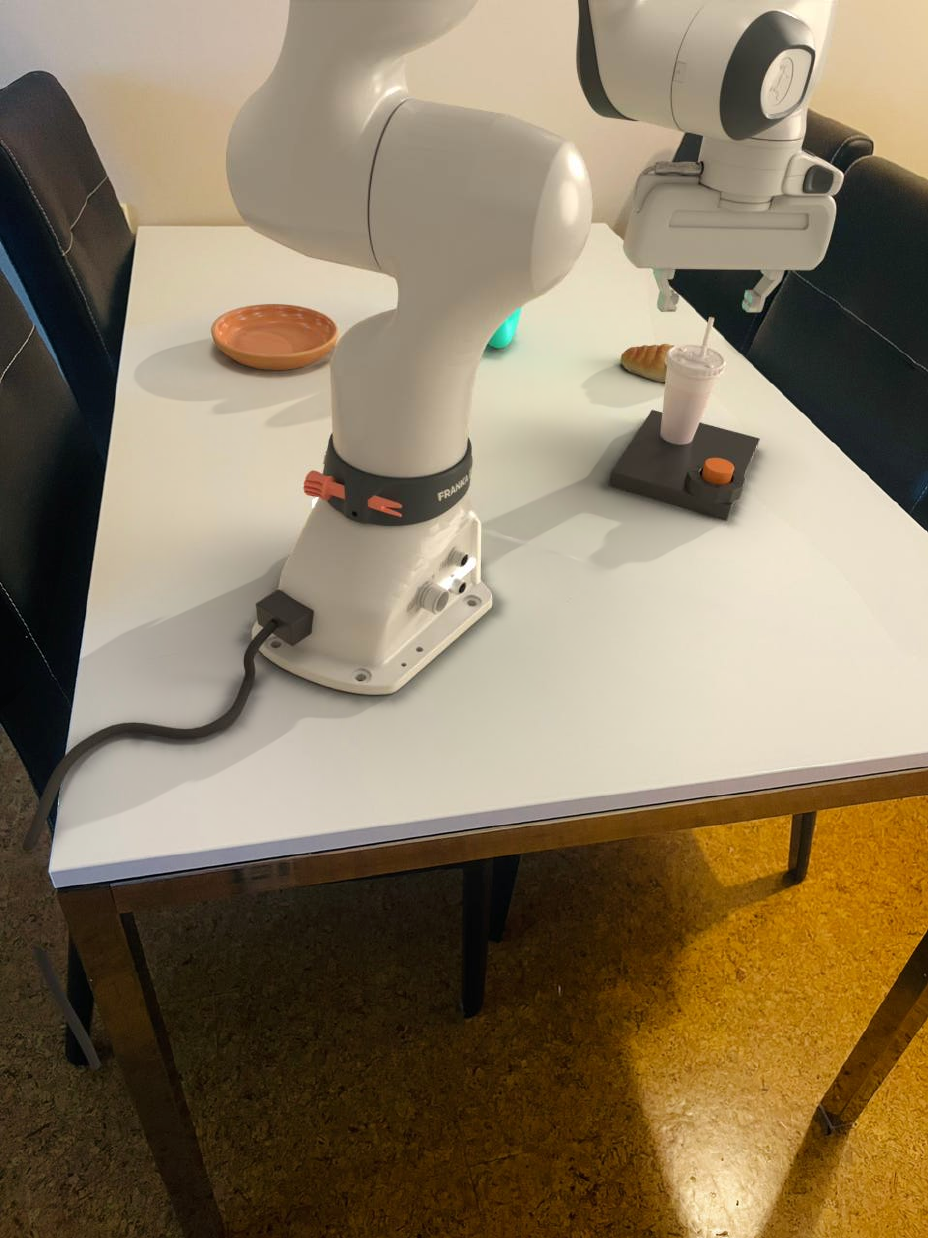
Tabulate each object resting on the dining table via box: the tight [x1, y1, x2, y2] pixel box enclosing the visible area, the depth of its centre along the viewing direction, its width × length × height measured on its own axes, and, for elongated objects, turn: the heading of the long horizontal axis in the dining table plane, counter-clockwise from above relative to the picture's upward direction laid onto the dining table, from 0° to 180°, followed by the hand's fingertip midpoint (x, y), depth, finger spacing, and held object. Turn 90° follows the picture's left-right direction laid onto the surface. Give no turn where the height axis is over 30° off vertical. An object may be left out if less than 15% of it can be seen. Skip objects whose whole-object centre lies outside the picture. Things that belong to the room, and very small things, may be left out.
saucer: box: [210, 303, 339, 371], centre depth 115 cm, size 16×16×3 cm
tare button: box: [702, 458, 734, 485], centre depth 93 cm, size 3×3×2 cm
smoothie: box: [660, 316, 727, 445], centre depth 97 cm, size 6×6×14 cm
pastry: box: [620, 343, 675, 383], centre depth 117 cm, size 9×7×4 cm
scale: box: [608, 409, 761, 521], centre depth 99 cm, size 16×13×4 cm
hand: (708, 310), depth 91 cm, fingers open, 8 cm apart
